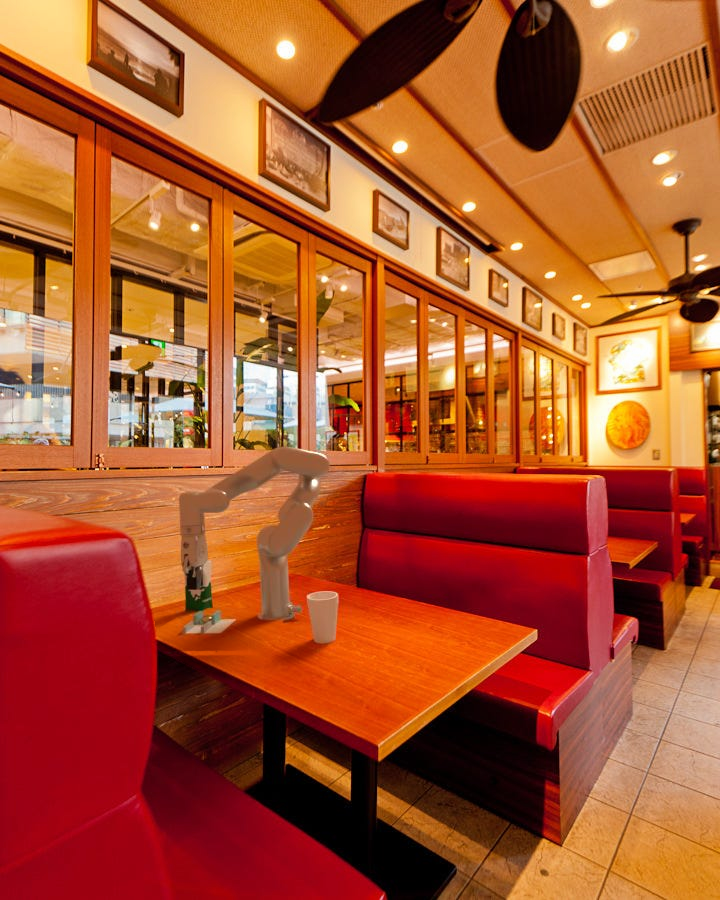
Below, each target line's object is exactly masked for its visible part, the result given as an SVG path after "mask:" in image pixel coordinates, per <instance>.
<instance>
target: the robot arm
mask: <svg viewBox="0 0 720 900" xmlns="http://www.w3.org/2000/svg"><path fill="white" fill-rule="evenodd" d="M330 467H331V464H330V460H329V458H328V457H327V456H326V455H324V454H323V453H320V452H315V451H311V450H306V449H302V448H297V447H293V446H279V447H275V448H273V449H271V450H270V451H269V452H266V453H265V454H263V455H262V456H261V457H259V458H257V459H256V460H254V461H253V462H251V463H249V464H248V465H246V466H245V467H243V468H241V469H239V470H238V471H236V472H234V473H232V474H231V475H229V476H227V477H225V478H224V479H222V480H221V481H219V482H217V483H216V484H214V485H212V486H211V487H209V488H207V489H206V490H205V491H204V492H201V491H186V492H182V493H180V494H179V495H178V496H179V497H178V505H179V507H178V508H179V527H180V528H179V529H180V533H179V534H180V537H181V542H180V565H181V568H182V567H183V568H182V572H183V574H184V573H185V574H186V581H187V590H196V589H197V577H195V572H196V567H199V566H202V576H201V586H203V566H204V564H205V563H206V562H207V561H209V556H208V555H209V554H208V543H207V536H206V523H205V520H206V519H205V514H207V513H210V514H220V513H223V512H225V511H226V510H228V508H229V506H230V503H231V501H232V500H234V499H235V498H237V497H239V496H241V495H243V494H245V493H249V492H252V491H255V490H257V489H259V488H261V487H262V486H264V485H265V484H267V483H268V482H270V481H271V480H273V479H274V478H275V477H278V476H279V475H281V474H282V473H284V472H288V473H293V474H297V475H298V482H297V485H296V487H295V488H294V489H293V491H292V492H291V494H290V495H289V496H288V498H287V499H286V500H285V502H284V503H283V504H282V505H281V507H279V510H278V512H277V518H278V521H279V523H278V524H277V525H274V524H268V525H265V526H264V527H262V528H261V529H260V531H259V532H258V533H257V537H256V547H257V552H258V558H259V559H258V562H259V575H260V578H259V579H260V593H261V594H260V595H261V599H260V600H261V612H260V613H258V615H257V618H258V619H259V620H263V621H275V620H283V622H286V621H289V620H292V619H293V618H294V617H295V615H296V614H297V613H301V614H302V612H303V608H302V606H301V605H294V604H293V602H292V600H291V601H290V587H289V586H290V585H289V584H290V583H289V581H290V580H289V564H288V563H289V562H288V555H289V554H291V553H292V552H293V551H294V550H295V548H296V547H297V546H298V544H299V543H300V541H301V540H302V539H303V537H304V536H305V535H306V533H307V532H308V531H309V529H310V528H311V526H312V523H313V522H314V511H313V508H312V506H313V505H314V503H315V502H316V500H317V499H318V497H319V496H320V493H321V490H322V483H321V482H322V480H321V479H322V478H321V477H325V476H326V475H327V474H328V473H329V471H330ZM190 565H191V566H193V567H189V566H190ZM189 569H192V571H191V570H189Z"/></svg>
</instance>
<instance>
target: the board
mask: <svg viewBox="0 0 720 900" xmlns="http://www.w3.org/2000/svg"><path fill="white" fill-rule="evenodd" d="M221 611H222V610H216V611H215V612H214V613H212V614H210V615H211V621H208V622H202V621H201V617H203V616H204V610H203V611H197V612H196V613H195V614H193V615H192V619H193V621H191V620H190V622H188V623H186V625H184V626H183V627H182V632H181V633H180V634H184V635H185V634H222V633H223V632H224V631H225V630H226V629H227V628H228V627H229V626H230V625H232V624H233V623H234V622H235V621H236V618H232V619H231V618H228V619H226V618H225V619H222V615H221V614H222V612H221Z"/></svg>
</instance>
